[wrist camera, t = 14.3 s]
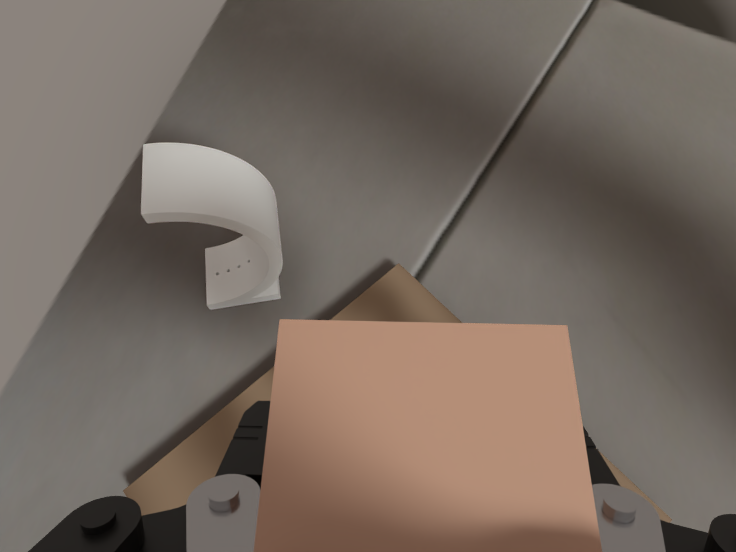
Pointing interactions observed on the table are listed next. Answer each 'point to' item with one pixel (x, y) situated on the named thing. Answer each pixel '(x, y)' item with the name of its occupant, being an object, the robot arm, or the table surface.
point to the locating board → (210, 442)
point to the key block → (424, 440)
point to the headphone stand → (218, 216)
